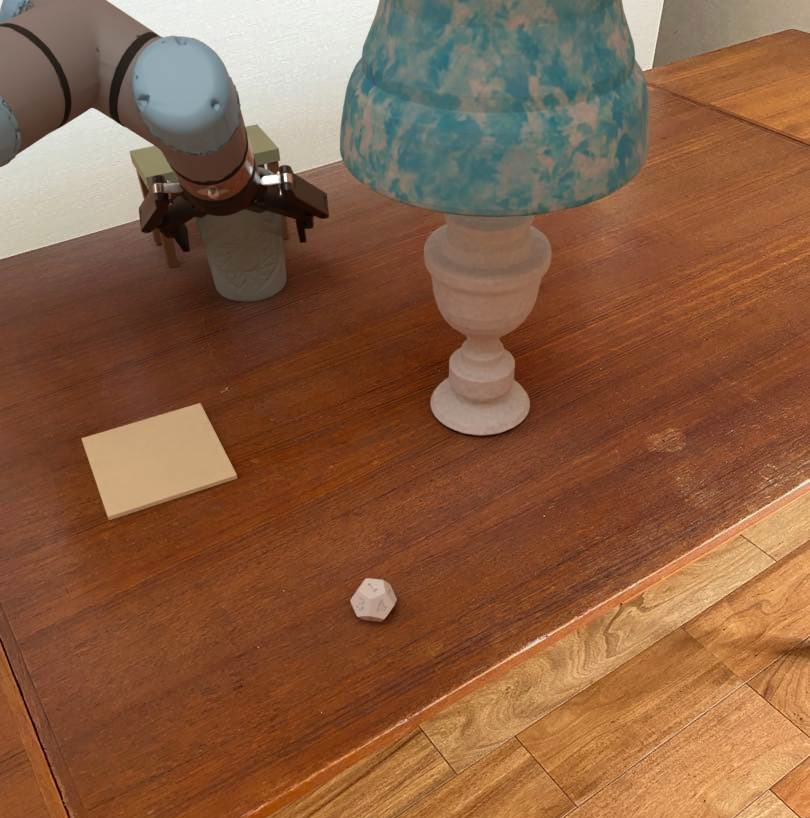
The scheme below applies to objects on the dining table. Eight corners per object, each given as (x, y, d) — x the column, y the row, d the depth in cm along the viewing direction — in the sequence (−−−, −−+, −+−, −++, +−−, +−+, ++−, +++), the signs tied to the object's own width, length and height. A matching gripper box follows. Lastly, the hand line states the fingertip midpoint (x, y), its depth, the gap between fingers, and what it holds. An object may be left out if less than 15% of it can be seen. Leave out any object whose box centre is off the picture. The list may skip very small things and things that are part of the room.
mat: (82, 441, 84) (81, 438, 84) (201, 406, 88) (200, 402, 87) (109, 520, 77) (107, 516, 77) (237, 478, 80) (237, 474, 80)
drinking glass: (255, 314, 99) (237, 214, 90) (189, 290, 103) (166, 192, 94) (309, 273, 105) (297, 176, 96) (244, 252, 109) (227, 156, 100)
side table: (152, 241, 111) (129, 150, 103) (270, 212, 116) (257, 124, 107) (168, 269, 106) (145, 177, 98) (290, 239, 111) (278, 148, 102)
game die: (383, 588, 71) (382, 563, 69) (404, 619, 69) (403, 595, 66) (344, 604, 70) (341, 580, 68) (365, 636, 68) (362, 613, 65)
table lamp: (499, 528, 75) (541, 8, 46) (311, 414, 86) (247, -62, 57) (647, 398, 87) (756, -83, 57) (464, 313, 98) (477, -126, 69)
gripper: (81, 214, 80) (139, 276, 101) (352, 193, 81) (353, 259, 102) (72, 131, 79) (132, 211, 100) (344, 112, 81) (347, 195, 102)
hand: (244, 235), depth 101 cm, fingers open, 13 cm apart
